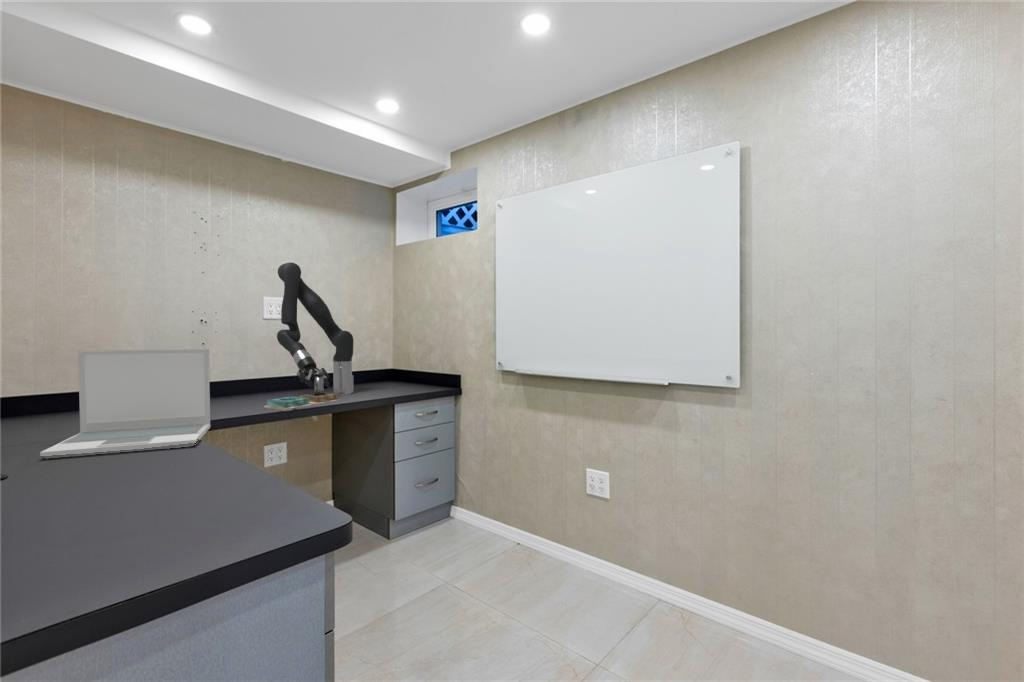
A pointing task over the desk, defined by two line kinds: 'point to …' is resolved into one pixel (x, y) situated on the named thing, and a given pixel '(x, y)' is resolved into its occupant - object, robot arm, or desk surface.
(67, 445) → the laptop
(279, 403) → the dock board
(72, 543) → the desk surface
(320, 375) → the steel pin
